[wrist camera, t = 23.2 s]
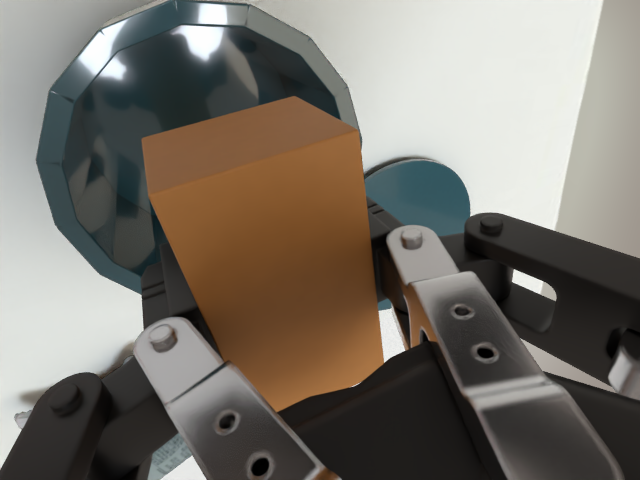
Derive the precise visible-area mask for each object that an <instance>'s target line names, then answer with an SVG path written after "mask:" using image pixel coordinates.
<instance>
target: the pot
mask: <svg viewBox="0 0 640 480" xmlns="http://www.w3.org/2000/svg"><path fill="white" fill-rule="evenodd" d="M292 96H296V97H298V98H300V99H302V100H303V101H305V102H307V103H309V104H311V105H313V106H315V107H317V108H318V109H320V110H322V111H324V112H326V113H328V114H330V115H331V116H333V117H335V118H337V119H339V120H341V121H343V122H345V123H346V124H348V125H350V126H352V127H354V128H356V129H358V131H359V137H360V146H361V148H362V137H361V133H360V129H359V126H358V122H357V118H356V115H355V111H354V107H353V103H352V100H351V96H350V92H349V89H348V87H347V84H346V83H345V82H344V80H343V79H342V78H341V76H340V75H339V74H338V73H337V71H336V70H335V69H334V67H333V66H332V65H331V63H330V62H329V61H328V60H327V58H326V57H325V56H324V54H323V53H322V52H321V50H320V49H319V48H318V47H317V45H316V44H315V43H314V41H313V40H312V39H311V38H310V37H309V36H308V35H306V34H304V33H302V32H300V31H298V30H297V29H295V28H293V27H291V26H289V25H287V24H286V23H284V22H282V21H280V20H278V19H276V18H275V17H273V16H271V15H269V14H267V13H265V12H264V11H262V10H260V9H258V8H256V7H254V6H253V5H251V4H247V3H234V2H219V1H203V0H156V1H154V2H151V3H149V4H146V5H144V6H141V7H139V8H137V9H134V10H131V11H129V12H127V13H124V14H122V15H120V16H117V17H115V18H112V19H110V20H108V21H107V22H106V23H105V24H104V25H103V26H102V27H101V28H100V29H99V30H98V31H97V32H96V33H95V34H94V36H93V37H92V38H91V39H90V40H89V42H88V43H87V44H86V45H85V46H84V48H83V49H82V50H81V51H80V53H79V54H78V55H77V56H76V57H75V59H74V60H73V61H72V62H71V63H70V65H69V66H68V67H67V68H66V69H65V71H64V72H63V73H62V74H61V75H60V77H59V78H58V79H57V80H56V81H55V83H54V84H53V85H52V86H51V87H50V90H49V93H48V98H47V103H46V108H45V114H44V119H43V124H42V129H41V135H40V140H39V145H38V150H37V155H36V164H37V168H38V171H39V174H40V178H41V181H42V184H43V187H44V191H45V194H46V197H47V200H48V204H49V207H50V210H51V213H52V217H53V220H54V223H55V225H56V226H57V228H58V229H59V230H60V232H61V233H62V234H63V235H64V236H65V237H66V238H67V239H68V240H69V241H70V243H71V244H72V245H73V246H74V247H75V248H76V249H77V250H78V251H79V253H80V254H81V255H82V256H83V257H84V258H85V259H86V260H87V261H88V262H89V264H90V265H91V266H92V267H93V268H94V269H95V270H96V271H97V272H98V273H99V274H100V275H102V276H104V277H106V278H108V279H110V280H112V281H114V282H116V283H118V284H120V285H122V286H125V287H127V288H129V289H131V290H133V291H135V292H137V293H139V294H141V295H142V289H141V277H142V275H143V273H144V271H145V269H146V268H147V266H149V265H152V264H155V263H157V262H160V261H161V255H160V248H159V245H160V244H163V243H166V242H169V241H168V239H167V237H166V235H165V232H164V230H163V228H162V226H161V224H160V221H159V219H158V217H157V215H156V213H155V210H154V208H153V206H152V204H151V202H150V199H149V197H148V189H147V181H146V173H145V165H144V157H143V149H142V138H144V137H147V136H151V135H154V134H158V133H162V132H165V131H169V130H173V129H176V128H180V127H183V126H187V125H191V124H194V123H198V122H201V121H205V120H209V119H212V118H216V117H220V116H223V115H227V114H230V113H234V112H238V111H241V110H245V109H249V108H252V107H256V106H259V105H263V104H267V103H270V102H274V101H277V100H281V99H285V98H288V97H292Z"/></svg>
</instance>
